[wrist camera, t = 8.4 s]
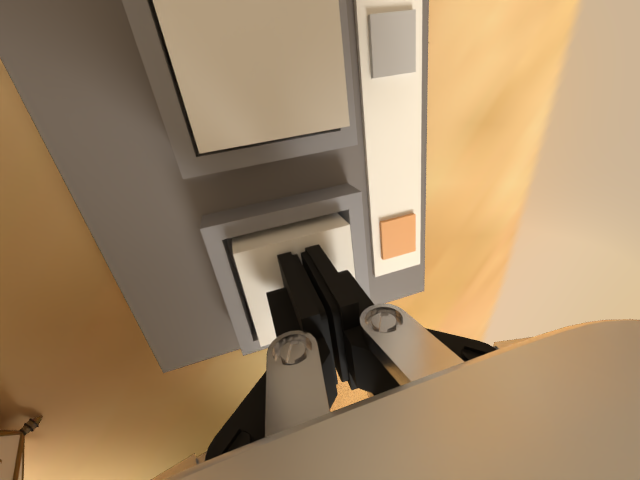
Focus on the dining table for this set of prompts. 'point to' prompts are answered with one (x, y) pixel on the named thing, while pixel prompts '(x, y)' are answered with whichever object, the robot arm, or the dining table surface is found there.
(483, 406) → the robot arm
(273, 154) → the button board
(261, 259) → the button
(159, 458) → the dining table surface
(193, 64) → the middle button
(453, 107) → the dining table surface
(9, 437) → the game die
